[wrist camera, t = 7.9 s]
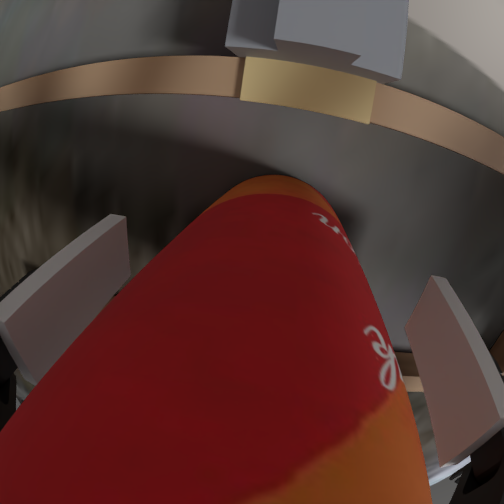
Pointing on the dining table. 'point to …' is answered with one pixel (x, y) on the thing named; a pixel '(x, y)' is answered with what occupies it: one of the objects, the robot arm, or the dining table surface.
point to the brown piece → (278, 93)
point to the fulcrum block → (323, 34)
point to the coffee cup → (227, 375)
